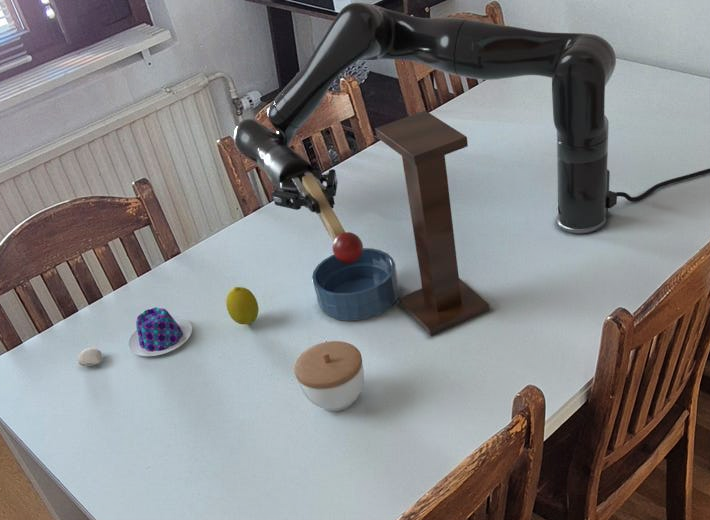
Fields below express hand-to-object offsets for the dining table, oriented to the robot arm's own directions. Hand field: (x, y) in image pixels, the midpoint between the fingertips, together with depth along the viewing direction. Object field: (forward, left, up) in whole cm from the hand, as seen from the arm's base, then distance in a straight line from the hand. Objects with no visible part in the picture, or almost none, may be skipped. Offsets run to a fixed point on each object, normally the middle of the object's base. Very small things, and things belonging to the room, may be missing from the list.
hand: (324, 205), depth 146 cm
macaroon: (+45, -17, -16) cm, 51 cm away
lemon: (+20, -3, -16) cm, 26 cm away
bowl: (+2, +8, -15) cm, 17 cm away
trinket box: (+23, +27, -16) cm, 39 cm away
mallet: (0, +1, -4) cm, 4 cm away
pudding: (+33, -13, -16) cm, 39 cm away
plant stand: (-5, +23, -15) cm, 28 cm away
